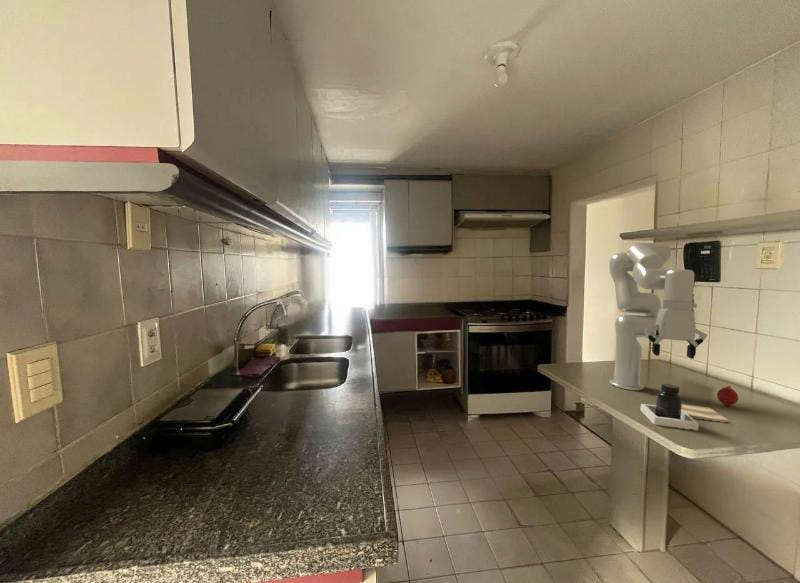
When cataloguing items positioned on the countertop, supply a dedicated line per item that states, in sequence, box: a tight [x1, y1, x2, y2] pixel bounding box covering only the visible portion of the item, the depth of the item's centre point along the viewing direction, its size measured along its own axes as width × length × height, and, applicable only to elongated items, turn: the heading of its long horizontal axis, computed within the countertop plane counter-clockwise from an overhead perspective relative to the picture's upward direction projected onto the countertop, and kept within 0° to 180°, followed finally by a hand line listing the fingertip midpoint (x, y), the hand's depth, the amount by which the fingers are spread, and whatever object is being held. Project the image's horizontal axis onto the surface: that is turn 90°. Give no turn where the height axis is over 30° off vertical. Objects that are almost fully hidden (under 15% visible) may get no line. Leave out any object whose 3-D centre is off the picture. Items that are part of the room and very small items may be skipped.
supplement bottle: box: [654, 383, 683, 420], centre depth 115 cm, size 7×7×12 cm
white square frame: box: [640, 403, 700, 431], centre depth 116 cm, size 12×12×2 cm
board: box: [682, 403, 729, 423], centre depth 122 cm, size 11×12×1 cm
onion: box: [716, 385, 739, 407], centre depth 129 cm, size 6×6×8 cm
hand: (672, 356), depth 114 cm, fingers open, 9 cm apart
